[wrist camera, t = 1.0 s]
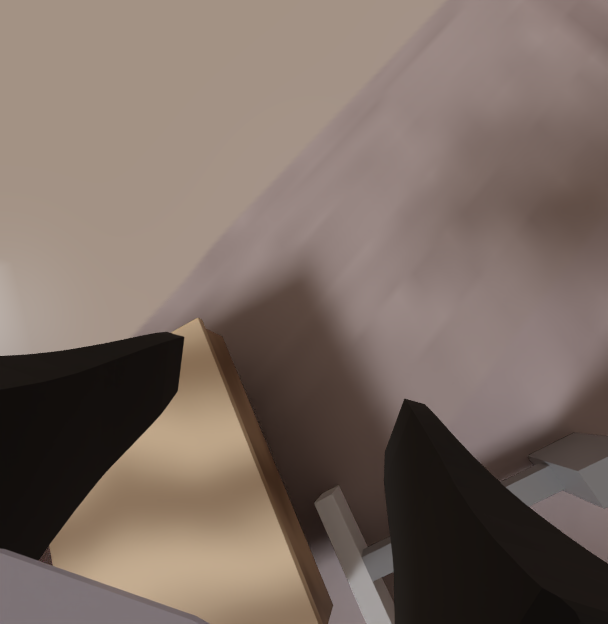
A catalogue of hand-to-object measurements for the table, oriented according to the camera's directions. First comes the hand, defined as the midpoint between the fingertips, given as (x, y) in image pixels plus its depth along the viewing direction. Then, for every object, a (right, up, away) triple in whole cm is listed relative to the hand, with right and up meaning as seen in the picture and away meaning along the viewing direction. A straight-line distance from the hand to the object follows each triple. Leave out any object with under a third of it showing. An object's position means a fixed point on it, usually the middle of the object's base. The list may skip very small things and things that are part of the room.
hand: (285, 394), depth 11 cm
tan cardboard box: (-6, -9, +13) cm, 17 cm away
